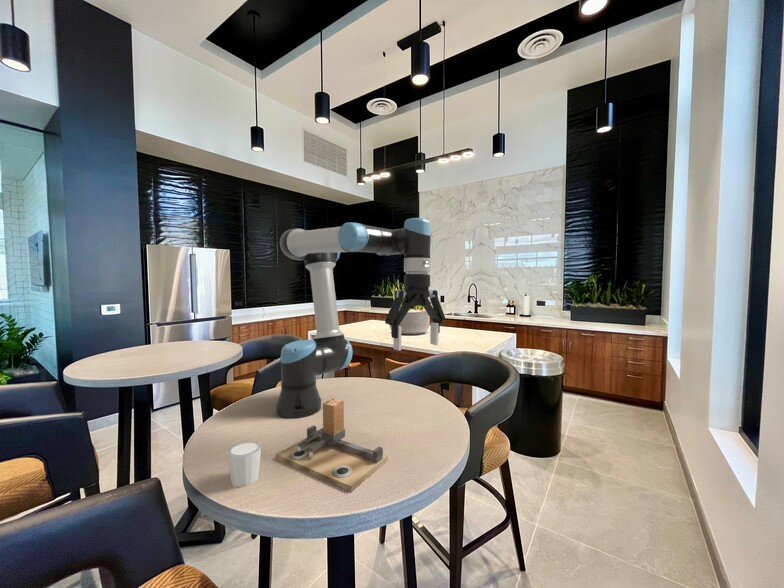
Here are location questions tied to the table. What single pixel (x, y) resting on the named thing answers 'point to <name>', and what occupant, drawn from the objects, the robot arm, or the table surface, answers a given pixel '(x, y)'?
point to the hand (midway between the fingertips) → (416, 347)
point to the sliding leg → (331, 424)
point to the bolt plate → (335, 461)
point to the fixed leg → (310, 440)
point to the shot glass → (244, 463)
